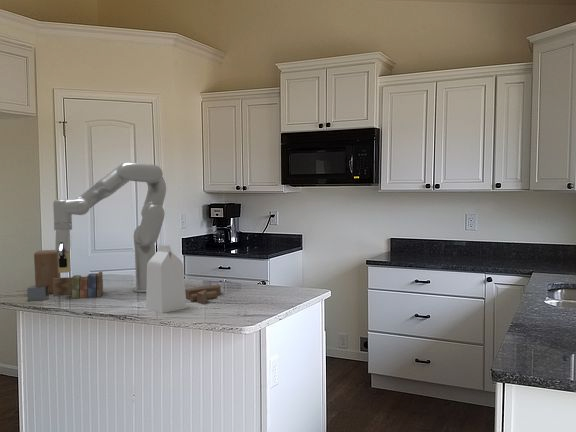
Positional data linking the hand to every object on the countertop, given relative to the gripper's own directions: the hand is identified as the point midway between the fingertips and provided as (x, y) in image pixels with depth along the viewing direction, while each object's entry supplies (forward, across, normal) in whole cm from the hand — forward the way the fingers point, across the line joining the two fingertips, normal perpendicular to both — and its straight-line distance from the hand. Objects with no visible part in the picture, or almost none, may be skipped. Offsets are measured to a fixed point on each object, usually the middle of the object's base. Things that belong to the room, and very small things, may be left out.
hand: (64, 265), depth 248 cm
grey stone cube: (+15, 0, -12) cm, 19 cm away
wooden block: (+15, -17, -11) cm, 25 cm away
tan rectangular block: (+3, 0, 0) cm, 3 cm away
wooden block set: (+15, +22, +64) cm, 69 cm away
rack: (+15, -3, +4) cm, 15 cm away
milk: (+15, +35, +45) cm, 59 cm away
